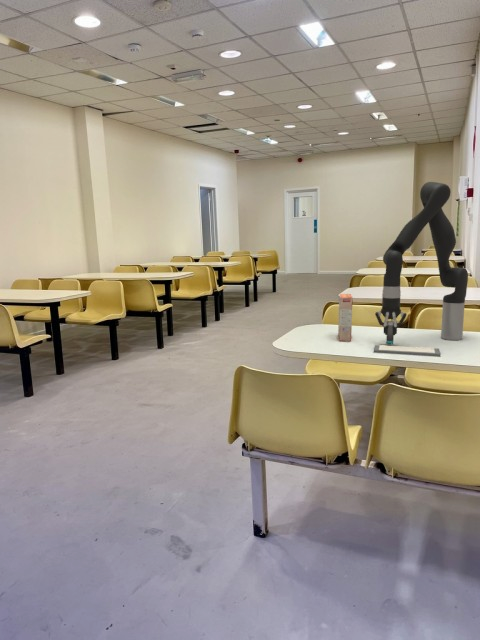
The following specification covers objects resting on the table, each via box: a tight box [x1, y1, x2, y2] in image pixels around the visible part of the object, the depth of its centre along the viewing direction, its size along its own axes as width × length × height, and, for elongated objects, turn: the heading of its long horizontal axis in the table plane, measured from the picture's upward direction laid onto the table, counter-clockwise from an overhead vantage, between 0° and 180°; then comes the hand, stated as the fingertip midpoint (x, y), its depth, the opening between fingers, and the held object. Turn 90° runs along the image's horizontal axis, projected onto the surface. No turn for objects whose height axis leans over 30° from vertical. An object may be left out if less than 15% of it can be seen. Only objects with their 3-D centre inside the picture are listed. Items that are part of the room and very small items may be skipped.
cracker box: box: [337, 293, 354, 342], centre depth 223 cm, size 14×6×21 cm, turn 170°
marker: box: [385, 320, 395, 345], centre depth 208 cm, size 3×3×10 cm
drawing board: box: [373, 344, 441, 358], centre depth 197 cm, size 10×26×1 cm, turn 70°
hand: (390, 334), depth 208 cm, fingers closed on marker, 3 cm apart
